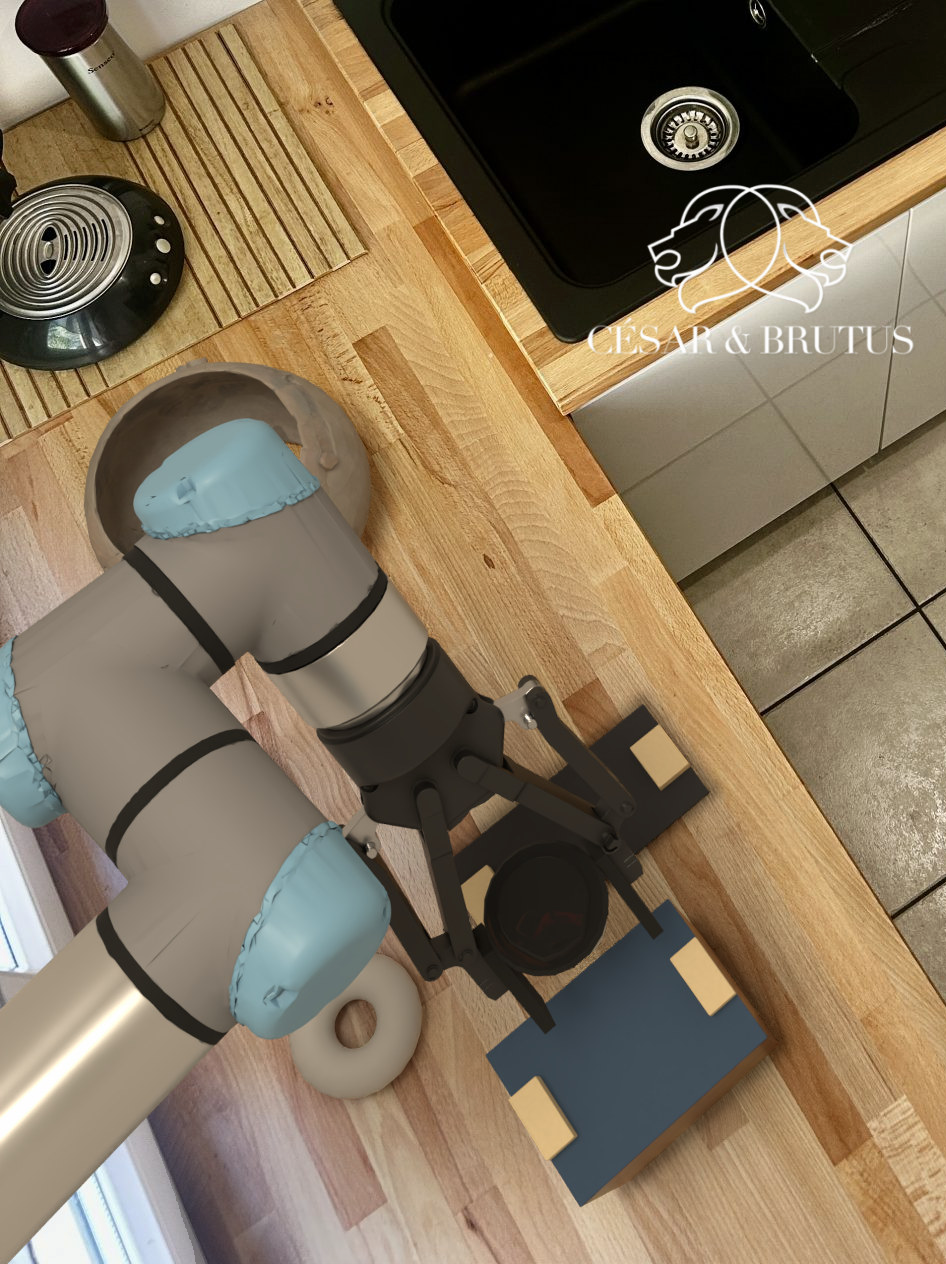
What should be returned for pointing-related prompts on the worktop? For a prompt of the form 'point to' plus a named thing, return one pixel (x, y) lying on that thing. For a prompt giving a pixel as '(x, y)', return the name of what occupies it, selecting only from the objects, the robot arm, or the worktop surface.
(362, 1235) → the worktop surface
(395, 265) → the worktop surface
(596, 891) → the coffee cup
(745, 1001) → the stand
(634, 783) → the mat
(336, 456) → the bowl
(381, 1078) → the donut
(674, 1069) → the blue slab
